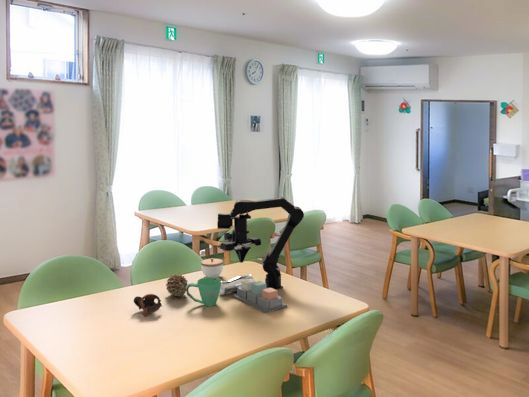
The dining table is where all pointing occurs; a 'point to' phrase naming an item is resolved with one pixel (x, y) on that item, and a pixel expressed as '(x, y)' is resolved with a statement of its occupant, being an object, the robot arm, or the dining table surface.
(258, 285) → the key teal
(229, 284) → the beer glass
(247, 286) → the key ivory
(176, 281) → the pine cone
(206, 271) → the lidded jar
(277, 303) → the keypad base
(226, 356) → the dining table surface
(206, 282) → the mug
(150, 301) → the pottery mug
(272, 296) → the salmon pink block
